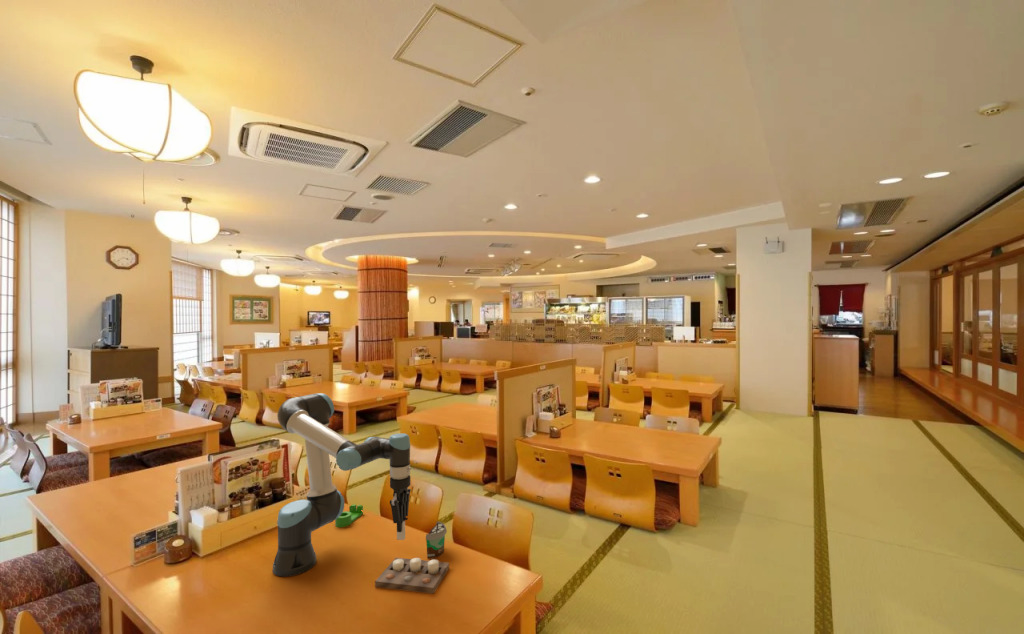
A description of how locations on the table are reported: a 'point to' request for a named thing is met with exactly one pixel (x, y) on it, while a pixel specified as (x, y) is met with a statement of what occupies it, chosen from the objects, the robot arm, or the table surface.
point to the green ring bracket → (349, 516)
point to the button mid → (415, 565)
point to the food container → (436, 540)
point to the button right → (433, 567)
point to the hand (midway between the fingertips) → (401, 538)
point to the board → (412, 578)
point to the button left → (398, 565)
